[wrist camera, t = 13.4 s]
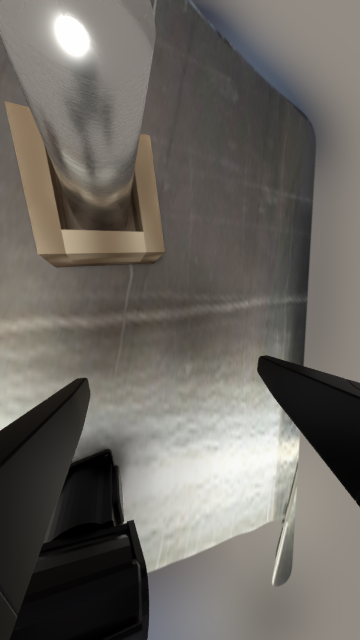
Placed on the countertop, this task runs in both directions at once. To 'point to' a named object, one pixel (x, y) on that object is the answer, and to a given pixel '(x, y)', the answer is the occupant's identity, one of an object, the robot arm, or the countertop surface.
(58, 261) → the block
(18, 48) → the steel peg
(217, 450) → the countertop surface
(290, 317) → the countertop surface
